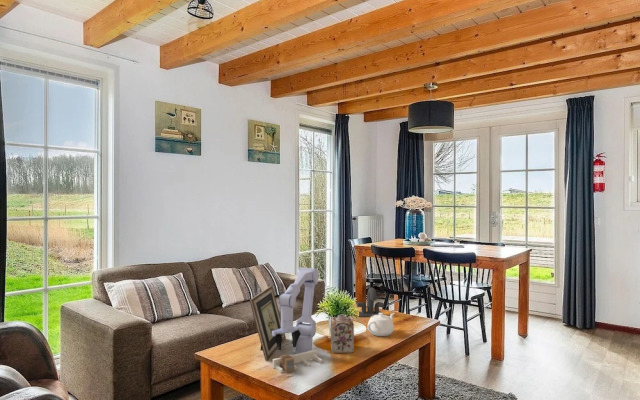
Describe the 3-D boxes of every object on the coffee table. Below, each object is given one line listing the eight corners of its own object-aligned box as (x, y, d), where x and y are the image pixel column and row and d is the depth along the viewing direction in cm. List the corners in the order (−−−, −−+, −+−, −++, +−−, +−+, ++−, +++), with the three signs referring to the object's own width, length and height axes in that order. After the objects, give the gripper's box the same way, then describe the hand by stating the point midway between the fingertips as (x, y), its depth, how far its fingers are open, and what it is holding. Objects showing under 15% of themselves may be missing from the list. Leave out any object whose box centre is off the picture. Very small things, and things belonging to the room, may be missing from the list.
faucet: (360, 320, 278) (360, 290, 277) (356, 313, 293) (356, 285, 293) (387, 320, 279) (387, 289, 279) (381, 313, 295) (382, 284, 295)
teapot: (378, 341, 238) (379, 320, 238) (357, 334, 250) (358, 313, 249) (404, 331, 256) (404, 311, 256) (383, 325, 267) (384, 306, 267)
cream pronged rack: (272, 367, 202) (272, 357, 202) (315, 357, 214) (315, 348, 214) (279, 373, 195) (279, 363, 195) (323, 362, 208) (323, 353, 208)
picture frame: (267, 360, 210) (267, 300, 210) (248, 359, 212) (248, 299, 212) (286, 338, 242) (286, 286, 242) (269, 337, 244) (269, 285, 244)
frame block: (280, 368, 201) (280, 355, 201) (288, 366, 203) (288, 354, 203) (286, 373, 196) (286, 360, 196) (293, 371, 198) (294, 358, 198)
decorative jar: (351, 345, 232) (352, 312, 232) (354, 353, 221) (354, 318, 221) (330, 345, 232) (330, 312, 232) (331, 353, 220) (331, 318, 220)
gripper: (276, 324, 192) (276, 354, 192) (304, 319, 200) (304, 348, 200) (270, 320, 198) (270, 349, 198) (297, 315, 206) (297, 343, 206)
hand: (286, 348), depth 200 cm, fingers open, 7 cm apart
